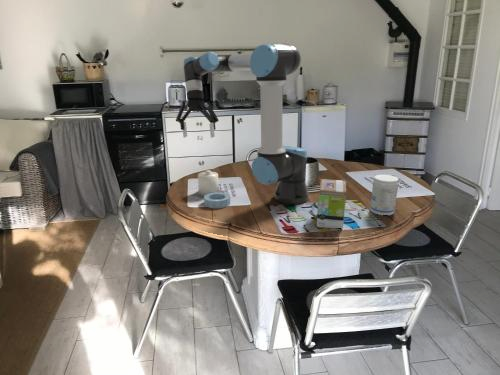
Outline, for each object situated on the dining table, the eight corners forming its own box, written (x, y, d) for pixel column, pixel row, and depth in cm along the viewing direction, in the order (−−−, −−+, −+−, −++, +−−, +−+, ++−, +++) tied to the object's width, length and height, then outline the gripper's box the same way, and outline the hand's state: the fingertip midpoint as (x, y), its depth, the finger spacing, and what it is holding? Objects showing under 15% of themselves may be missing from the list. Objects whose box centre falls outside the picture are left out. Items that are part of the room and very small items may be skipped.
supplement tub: (366, 208, 174) (370, 174, 169) (388, 207, 175) (392, 173, 170) (375, 216, 165) (379, 181, 160) (398, 216, 165) (403, 180, 161)
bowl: (234, 202, 180) (234, 194, 178) (222, 210, 170) (222, 202, 169) (212, 198, 184) (212, 191, 183) (199, 206, 174) (199, 198, 173)
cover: (221, 191, 191) (221, 169, 188) (212, 197, 184) (211, 174, 180) (205, 189, 195) (204, 167, 192) (194, 194, 187) (193, 172, 184)
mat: (226, 192, 192) (226, 191, 192) (213, 200, 182) (213, 199, 182) (203, 188, 197) (203, 187, 197) (190, 196, 187) (190, 195, 187)
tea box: (343, 229, 153) (346, 191, 148) (316, 227, 155) (318, 189, 150) (343, 214, 167) (346, 179, 162) (318, 212, 169) (320, 177, 164)
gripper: (215, 95, 201) (220, 138, 199) (165, 92, 188) (170, 138, 186) (222, 90, 194) (227, 135, 193) (171, 87, 182) (176, 134, 180)
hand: (199, 137), depth 190 cm, fingers open, 13 cm apart
